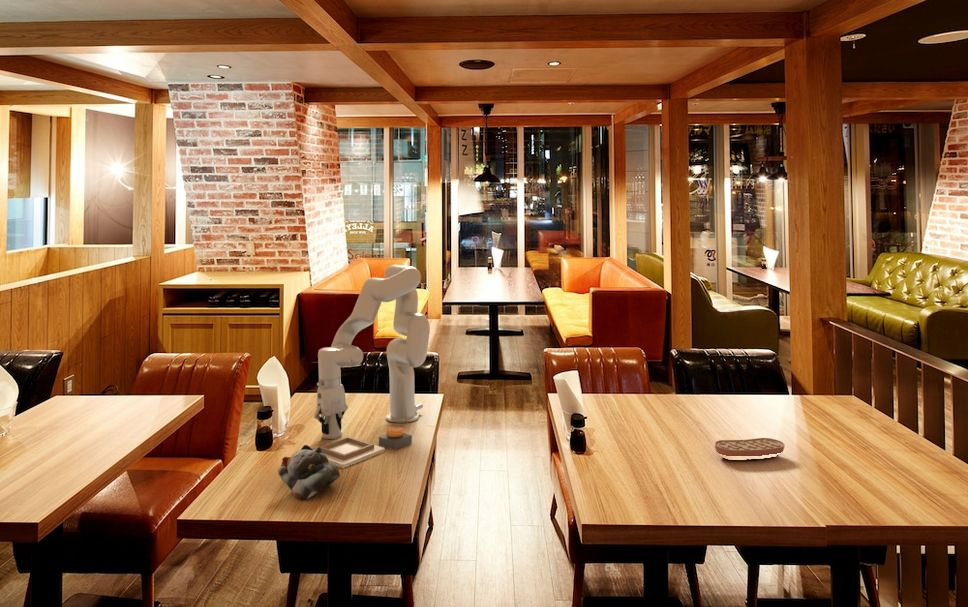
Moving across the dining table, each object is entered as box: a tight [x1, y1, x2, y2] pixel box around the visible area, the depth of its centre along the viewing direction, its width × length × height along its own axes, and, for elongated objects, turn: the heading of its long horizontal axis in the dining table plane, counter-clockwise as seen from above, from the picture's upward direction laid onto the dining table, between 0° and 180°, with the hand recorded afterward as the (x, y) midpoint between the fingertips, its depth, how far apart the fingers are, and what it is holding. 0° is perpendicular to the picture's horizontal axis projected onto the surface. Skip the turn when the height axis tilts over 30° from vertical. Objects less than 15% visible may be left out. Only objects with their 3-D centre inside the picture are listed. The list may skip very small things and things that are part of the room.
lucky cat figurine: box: [277, 444, 341, 501], centre depth 185 cm, size 15×12×14 cm
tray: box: [319, 436, 386, 469], centre depth 213 cm, size 18×18×3 cm
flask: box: [321, 414, 343, 440], centre depth 229 cm, size 7×7×10 cm
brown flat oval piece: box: [714, 437, 785, 456], centre depth 208 cm, size 23×10×5 cm, turn 98°
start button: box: [385, 426, 405, 438], centre depth 221 cm, size 6×6×4 cm
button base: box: [378, 432, 413, 451], centre depth 222 cm, size 8×8×3 cm
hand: (331, 431), depth 230 cm, fingers closed on flask, 5 cm apart
